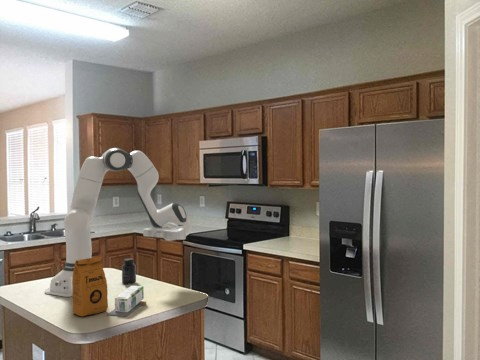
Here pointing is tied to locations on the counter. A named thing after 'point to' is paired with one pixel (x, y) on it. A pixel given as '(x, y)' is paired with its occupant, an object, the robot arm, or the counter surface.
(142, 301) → the brown block
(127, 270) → the supplement bottle
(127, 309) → the syrup box
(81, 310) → the coffee package
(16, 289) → the counter surface
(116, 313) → the mat
